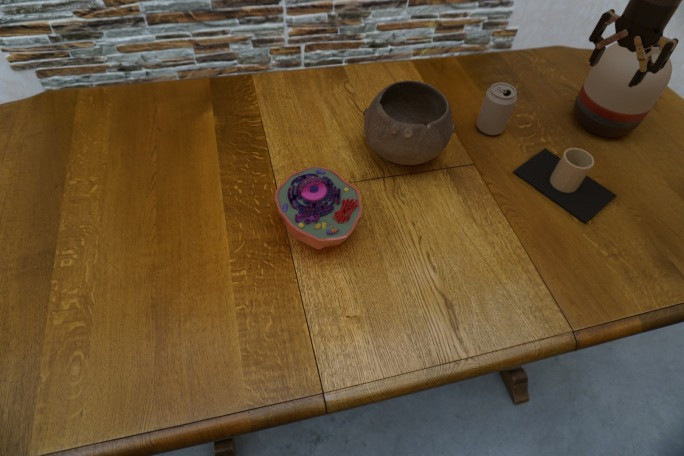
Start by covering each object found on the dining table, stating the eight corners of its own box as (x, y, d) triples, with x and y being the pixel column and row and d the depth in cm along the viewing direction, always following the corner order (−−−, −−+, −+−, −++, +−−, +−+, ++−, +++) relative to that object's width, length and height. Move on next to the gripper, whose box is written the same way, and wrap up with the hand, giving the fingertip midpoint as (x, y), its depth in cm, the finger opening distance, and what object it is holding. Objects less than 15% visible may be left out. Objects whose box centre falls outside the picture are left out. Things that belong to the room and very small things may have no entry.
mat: (615, 196, 107) (617, 195, 107) (584, 224, 102) (586, 222, 102) (544, 149, 116) (545, 148, 116) (512, 172, 111) (513, 170, 111)
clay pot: (411, 112, 123) (420, 63, 111) (462, 160, 113) (479, 110, 101) (345, 139, 116) (347, 89, 104) (393, 193, 106) (402, 144, 94)
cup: (584, 184, 109) (600, 159, 102) (567, 197, 106) (583, 173, 100) (560, 168, 112) (574, 143, 105) (543, 180, 109) (557, 156, 103)
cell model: (297, 275, 92) (295, 242, 83) (269, 203, 103) (263, 167, 94) (374, 250, 96) (380, 216, 87) (339, 184, 107) (340, 147, 98)
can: (499, 141, 118) (514, 102, 108) (471, 130, 120) (484, 92, 110) (507, 124, 122) (523, 86, 112) (480, 115, 124) (493, 76, 114)
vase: (567, 134, 120) (612, 52, 101) (569, 96, 130) (610, 15, 111) (635, 149, 117) (695, 68, 99) (632, 110, 127) (685, 29, 108)
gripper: (610, -17, 81) (570, 65, 94) (689, 17, 74) (635, 100, 87) (632, -29, 84) (590, 52, 97) (710, 3, 77) (654, 85, 90)
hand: (612, 75), depth 92 cm, fingers open, 8 cm apart
